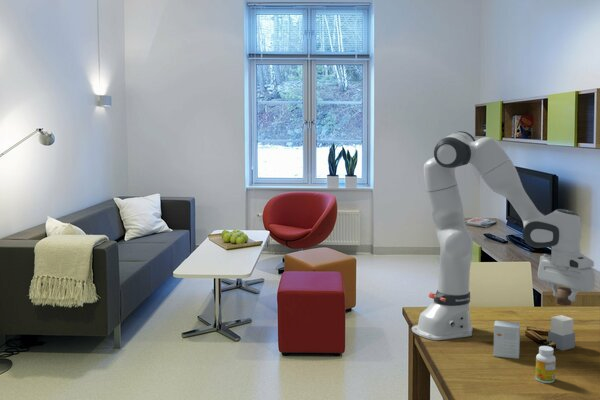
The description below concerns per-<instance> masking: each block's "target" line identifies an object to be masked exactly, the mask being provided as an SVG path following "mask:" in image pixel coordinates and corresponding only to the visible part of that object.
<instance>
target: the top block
mask: <svg viewBox="0 0 600 400" xmlns="http://www.w3.org/2000/svg"><path fill="white" fill-rule="evenodd" d="M549 331H551V332H553V333H556V334H559V335H562V336H564V335H568V334H572V333H574V318H572V317H569V316H565V315H564V314H563V315H562V314H560V315H559V314H558V315H556V316H551V317H550V330H549Z"/></svg>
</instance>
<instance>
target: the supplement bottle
mask: <svg viewBox="0 0 600 400" xmlns="http://www.w3.org/2000/svg"><path fill="white" fill-rule="evenodd" d="M554 350H555V348H554V347H552V346H549V345H540V346H538V354H536V356H535V372H534V373H535V376H534V377H535V380H536V381H538V382H539V383H544V384H551V383H553V382H555V380H556V363H557V362H556V361H557V359H556V356H555V355H554Z"/></svg>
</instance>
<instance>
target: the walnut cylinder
mask: <svg viewBox="0 0 600 400" xmlns="http://www.w3.org/2000/svg"><path fill="white" fill-rule="evenodd" d="M571 293H572V291H571V288H569V287H565V286H559V287H557V297H556V304H557V305H559V306H565V307H566V306H571V305H572V301H569V300H568V295H571Z"/></svg>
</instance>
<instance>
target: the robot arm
mask: <svg viewBox="0 0 600 400" xmlns="http://www.w3.org/2000/svg"><path fill="white" fill-rule="evenodd" d="M468 164H470V165H472V166H474V168H475V169H476V171H477V172H478V174H479V175H480V176H481V178H482V179H483V181H484V183H485V184H486V186H488V188H490V189H491V190H492V191H493V192H494V193H496V194H498V195H501V196H502V197H504V198H505V199H506V200H507V201H509V203H510V204H511V206H512V207H513V209H514V210H515V211H516V213H517V214H518V216H519V217H520V219H521V221H522V225H523V229H522V238H523V241H524V242H525V243H526V245H528V246H529V247H532V248H535V249H540V248H541V249H543V248H549V247H551V254H548V253H543V254H541V255H540V257H539V264H538V268H537V278H538V279H539V280H540V281H543V282H545V283H546V282H547V283H550V287H551V289H552V292H553V294H552V295H553V297H555V298H557V288H558V286H560V287H566V288H570V289H571V291H572V293H571V295H568V300H569V301H571V302H575V301H576V296H577V294H578V293H579V292H580V291H581V292H585V293H589V292H591V291H593V290H595V284H596V283H595V282H596V280H595V279H596V278H595V271H594V269H593V268H594V266H595V261H594V260H593V259H591V258H589V257H587V256H586V255H584V253H583V254H582V253H581V246H580V242H581V239H582V221H581V217H580V215H579V214H578V213H576V212H575V211H573V210H570V209H563V208H557V209H555V210H553V211H552V212H550V213H548V214H544V213H543V212H541V211H540V210H539V209H538V208H537V207H536V205H535V204H534V202H533V201H532V199H531V197H529V196H530V195H528V194H527V192H526V190H525V188H524V186H523V183H522V181H521V178H520V175H519V172H518V170H517V168H516V166H515V165H514V163H513V161H512V160H511V159H510V157H509V155H508V154H507V153H506V151H505V150H504V149H503V147H502V146H501V145H500V144H499V143H498V142H497V141H496V140H495V139H494V138H492V137H490V136H489V137H488V136H486V137H481V138H479V139H477V140H476V139H475V137H474V136H473V135H472V134H470V133H469V132H467V131H464V130H463V131H462V130H461V131H456V132H453V133H449V134H447V135H446V136H445V137H443V138H441V139H440V140H439V141H437V143H436V145H435V147H434V150H433V157H431V158H429V159H428V160H426V161H425V162H424V164H423V180H424V187H425V191H426V194H427V199H428V203H429V206H430V207H429V208H430V211H431V215H432V219H433V224H434V229H435V234H436V237H437V242H438V243H439V245H440V248H439V249H440V253H439V263H438V272H437V275H438V276H437V277H438V278H437V290H436V293H433V292H429V293H428V298H429V299H432V300H433V301H432V302H431V303H430V304H429V305H428V307H426V308H425V309H424V310H423V311H422V312H421V313H420V314H419V317H418V323H417V324H416V325H413V326H412V327H411V331H412V333H414V334H416V335H417V336H420V337H421V338H424V339H428V340H430V341H441V340H451V339H459V338H468V337H471V336H473V331H474V329H473V325H472V321H471V311H470V303H471V292H470V273H471V272H470V271H471V265H472V257H473V256H472V255H473V246H474V240H473V237H472V235H471V233H470V232H469V230H468V228H467V225H466V221H465V220H466V219H465V216H464V215H465V214H464V208H463V203H462V198H461V194H460V190H459V186H458V182H457V177H456V173H455V172H456V168H458V167H462V166H467V165H468Z"/></svg>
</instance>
